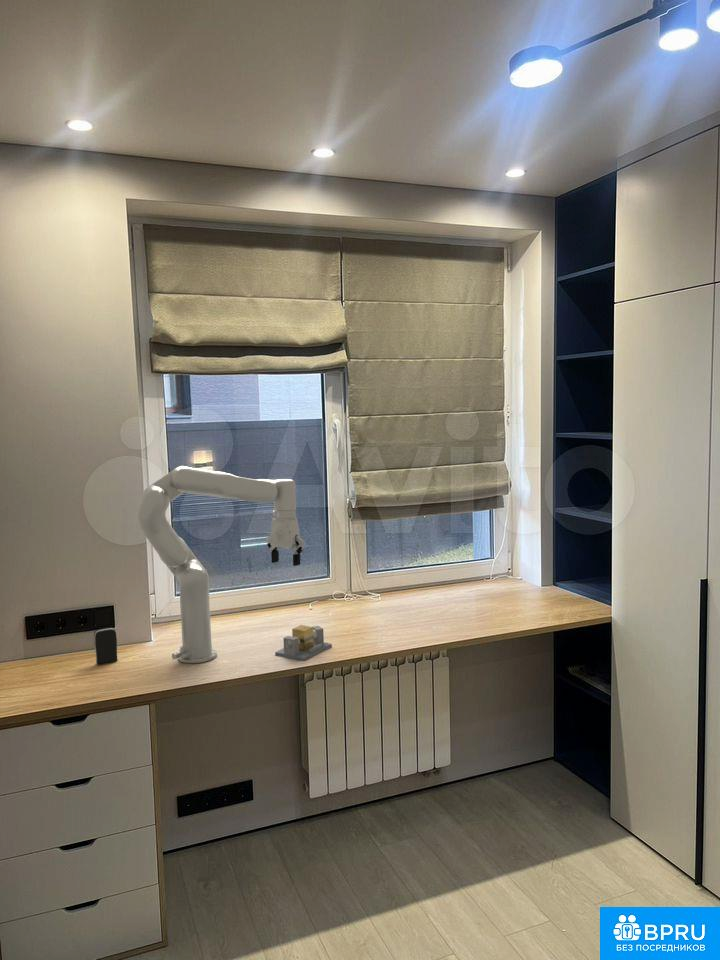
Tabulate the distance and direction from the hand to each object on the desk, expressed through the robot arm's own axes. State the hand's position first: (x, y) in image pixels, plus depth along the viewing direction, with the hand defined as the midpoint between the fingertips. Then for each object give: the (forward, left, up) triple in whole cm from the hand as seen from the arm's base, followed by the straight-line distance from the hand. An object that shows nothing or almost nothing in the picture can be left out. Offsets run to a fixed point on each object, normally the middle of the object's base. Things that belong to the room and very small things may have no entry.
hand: (285, 563), depth 246 cm
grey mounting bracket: (-3, -9, -29) cm, 30 cm away
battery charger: (-43, +43, -29) cm, 68 cm away
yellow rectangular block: (-3, -9, -28) cm, 29 cm away
